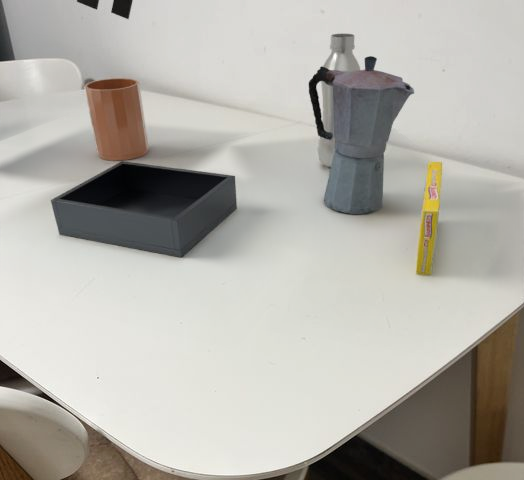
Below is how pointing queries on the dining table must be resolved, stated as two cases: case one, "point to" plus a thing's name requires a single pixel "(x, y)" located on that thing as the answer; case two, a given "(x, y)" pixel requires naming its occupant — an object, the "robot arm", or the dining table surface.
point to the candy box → (429, 219)
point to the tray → (146, 207)
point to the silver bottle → (339, 61)
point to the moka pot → (359, 133)
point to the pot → (117, 118)
